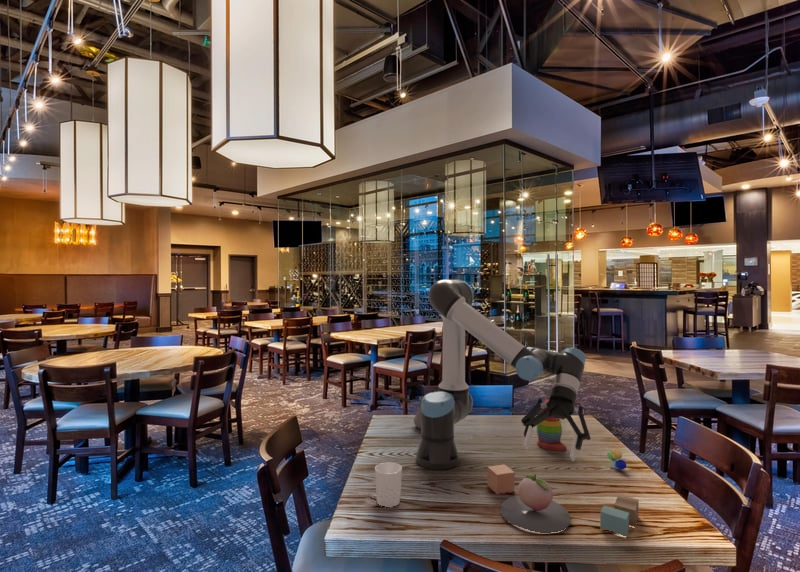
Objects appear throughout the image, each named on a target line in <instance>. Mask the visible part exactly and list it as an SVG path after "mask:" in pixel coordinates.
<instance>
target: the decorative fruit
mask: <svg viewBox="0 0 800 572" xmlns="http://www.w3.org/2000/svg"><path fill="white" fill-rule="evenodd" d="M523 477H524V478H523V479H522V480H521V481H520V482H519V484H518V487H517V492H518V496H520V499H521V501H522V502H523V503H524V504H525V505H526V506H528V507H530V508H532V509H534V511H539V510H543V509H545V508H547V507H548V506H549V505H550V503H551V502H552V501H553V499H554V491H553V489H552V487H551V485H550V484H549V483H548V482H547V481H545V480H543V479H540V478H538V477H537V474H536V473H535V474H532V473H525V474H524V475H523Z"/></svg>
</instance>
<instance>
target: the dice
mask: <svg viewBox="0 0 800 572" xmlns="http://www.w3.org/2000/svg"><path fill="white" fill-rule="evenodd" d="M607 458H608V460H610V467H611V468H612V469H614V470H625V469H627V462H626V461H625V460H624V459H622V458H623V453H622V450H620V449H617V448H614V449H613V450H609V451H608V452H607Z"/></svg>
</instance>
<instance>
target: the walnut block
mask: <svg viewBox="0 0 800 572" xmlns="http://www.w3.org/2000/svg"><path fill="white" fill-rule="evenodd" d="M639 505H640V504H639V498H634V497H630V496H626V495H622V494H617V497H616V499H615V503H614V505H613V506H614V507H613V508H614V509H618V510H621V511H625V512H628V513H629V525H631V526H634V527H635V526H636V527H637V525H636V523H637V524H638V521H637V519H638V520H639V512H640V511H639V508H640V507H639Z"/></svg>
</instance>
